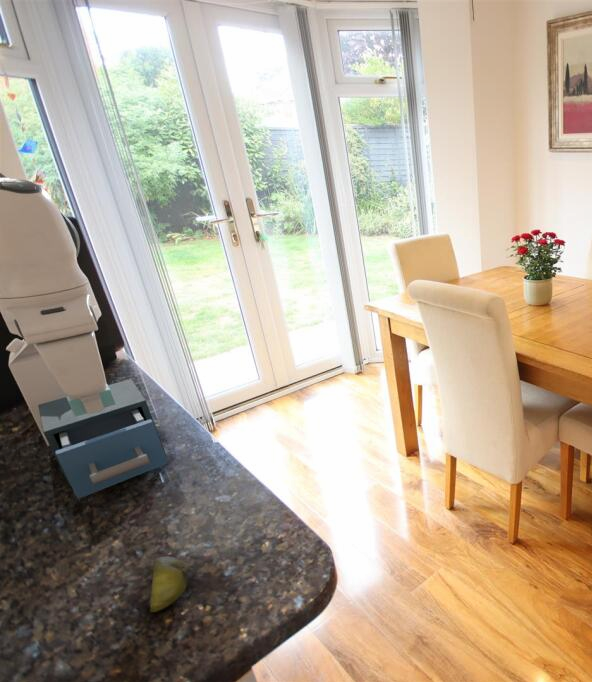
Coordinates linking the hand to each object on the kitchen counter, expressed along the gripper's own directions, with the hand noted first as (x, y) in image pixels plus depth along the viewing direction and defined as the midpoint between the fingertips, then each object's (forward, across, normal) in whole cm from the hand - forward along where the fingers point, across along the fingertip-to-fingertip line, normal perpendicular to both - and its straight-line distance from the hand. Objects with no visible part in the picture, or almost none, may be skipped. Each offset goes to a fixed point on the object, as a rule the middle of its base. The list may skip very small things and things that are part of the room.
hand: (93, 404), depth 64 cm
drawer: (+11, +1, 0) cm, 11 cm away
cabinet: (+12, -9, 0) cm, 15 cm away
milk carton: (+12, -22, -4) cm, 25 cm away
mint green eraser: (0, 0, 0) cm, 0 cm away
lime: (+12, +31, -1) cm, 33 cm away
